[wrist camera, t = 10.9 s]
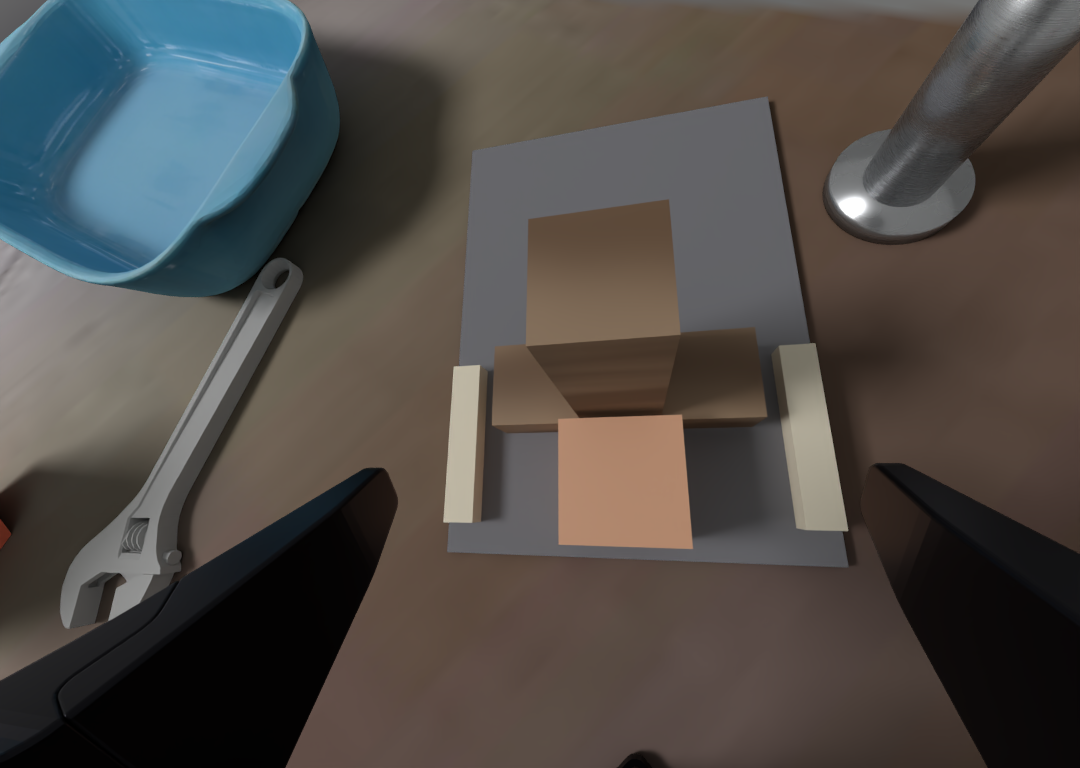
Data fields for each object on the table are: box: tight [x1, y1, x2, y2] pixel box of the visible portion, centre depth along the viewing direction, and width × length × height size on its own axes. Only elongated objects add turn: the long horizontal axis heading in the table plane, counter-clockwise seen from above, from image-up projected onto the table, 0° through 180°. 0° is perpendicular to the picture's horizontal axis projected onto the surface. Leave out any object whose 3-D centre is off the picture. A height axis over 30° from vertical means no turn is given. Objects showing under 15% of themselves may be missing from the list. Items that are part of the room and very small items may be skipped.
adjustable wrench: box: [60, 258, 303, 629], centre depth 27 cm, size 25×6×2 cm, turn 153°
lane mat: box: [444, 97, 848, 567], centre depth 22 cm, size 25×18×2 cm
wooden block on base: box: [492, 199, 767, 433], centre depth 16 cm, size 4×12×12 cm, turn 90°
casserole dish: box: [0, 0, 340, 297], centre depth 32 cm, size 37×22×7 cm, turn 63°
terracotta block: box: [558, 415, 693, 549], centre depth 19 cm, size 5×5×4 cm
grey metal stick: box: [823, 0, 1080, 245], centre depth 16 cm, size 6×6×12 cm
